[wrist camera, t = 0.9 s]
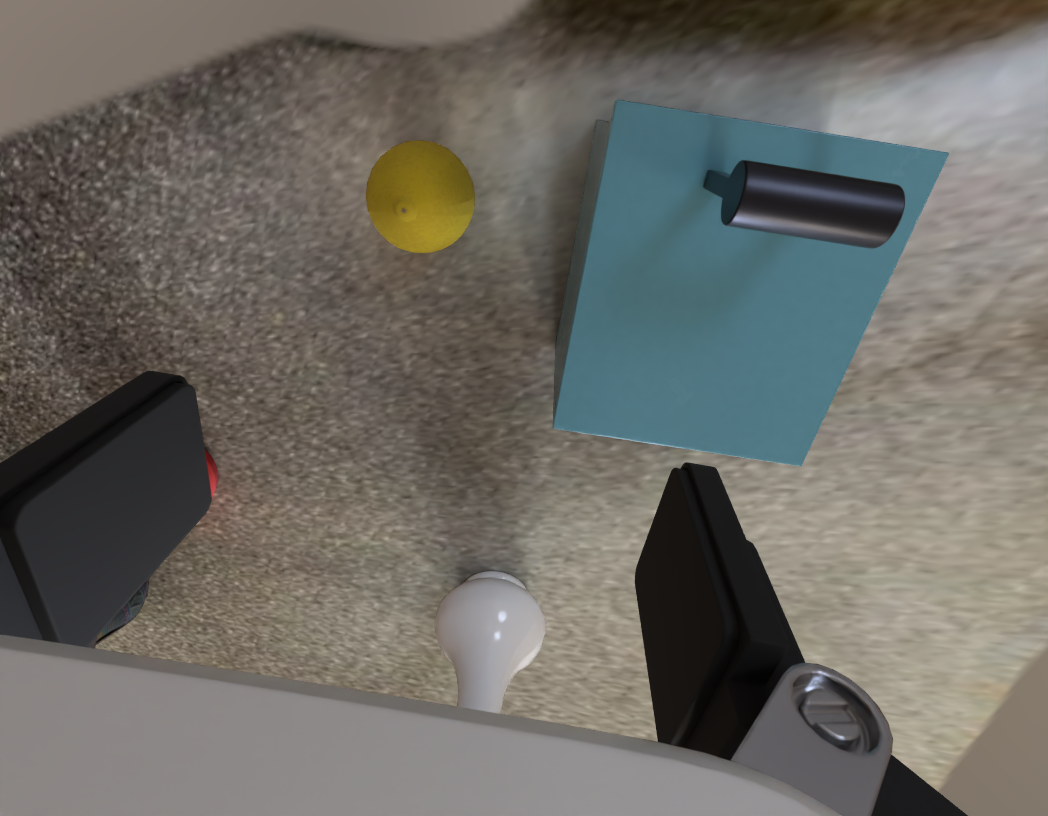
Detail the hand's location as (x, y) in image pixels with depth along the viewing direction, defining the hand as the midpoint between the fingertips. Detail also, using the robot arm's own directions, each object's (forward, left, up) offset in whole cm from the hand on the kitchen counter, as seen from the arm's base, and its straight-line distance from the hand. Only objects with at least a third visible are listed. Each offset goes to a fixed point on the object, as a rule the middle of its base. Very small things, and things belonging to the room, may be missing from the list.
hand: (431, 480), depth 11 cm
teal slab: (0, +10, -16) cm, 19 cm away
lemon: (-2, -5, -26) cm, 27 cm away
